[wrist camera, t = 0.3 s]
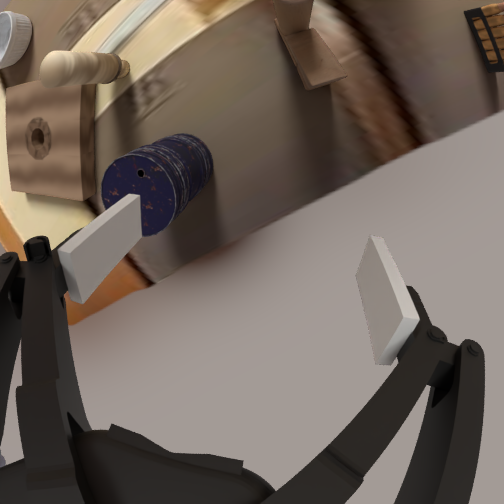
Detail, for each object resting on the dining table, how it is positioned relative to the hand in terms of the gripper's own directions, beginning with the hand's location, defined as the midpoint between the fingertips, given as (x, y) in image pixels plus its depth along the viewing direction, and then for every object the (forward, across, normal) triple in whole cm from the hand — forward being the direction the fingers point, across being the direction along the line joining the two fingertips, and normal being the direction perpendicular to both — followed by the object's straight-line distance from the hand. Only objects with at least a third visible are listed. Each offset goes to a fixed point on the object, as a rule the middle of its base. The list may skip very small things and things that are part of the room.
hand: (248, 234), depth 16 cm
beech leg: (+28, -26, +11) cm, 39 cm away
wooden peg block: (+28, +2, +14) cm, 31 cm away
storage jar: (+28, -14, -4) cm, 31 cm away
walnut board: (+28, -42, 0) cm, 50 cm away
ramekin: (+28, -55, +22) cm, 66 cm away
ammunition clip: (+28, +29, +27) cm, 48 cm away
